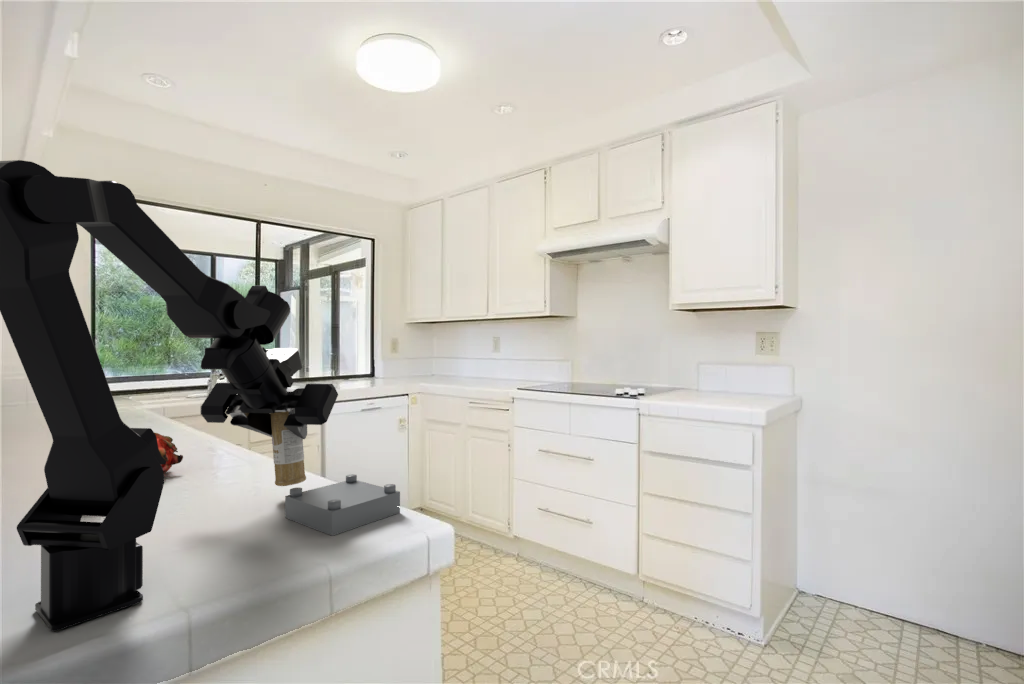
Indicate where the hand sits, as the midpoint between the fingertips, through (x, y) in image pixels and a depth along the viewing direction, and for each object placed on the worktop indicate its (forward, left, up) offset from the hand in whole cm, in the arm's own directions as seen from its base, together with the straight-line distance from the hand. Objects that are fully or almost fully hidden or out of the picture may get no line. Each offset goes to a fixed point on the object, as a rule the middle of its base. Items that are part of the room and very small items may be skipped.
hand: (291, 436), depth 81 cm
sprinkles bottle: (-1, -1, -7) cm, 7 cm away
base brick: (0, -14, -9) cm, 17 cm away
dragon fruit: (-8, +33, -10) cm, 35 cm away
